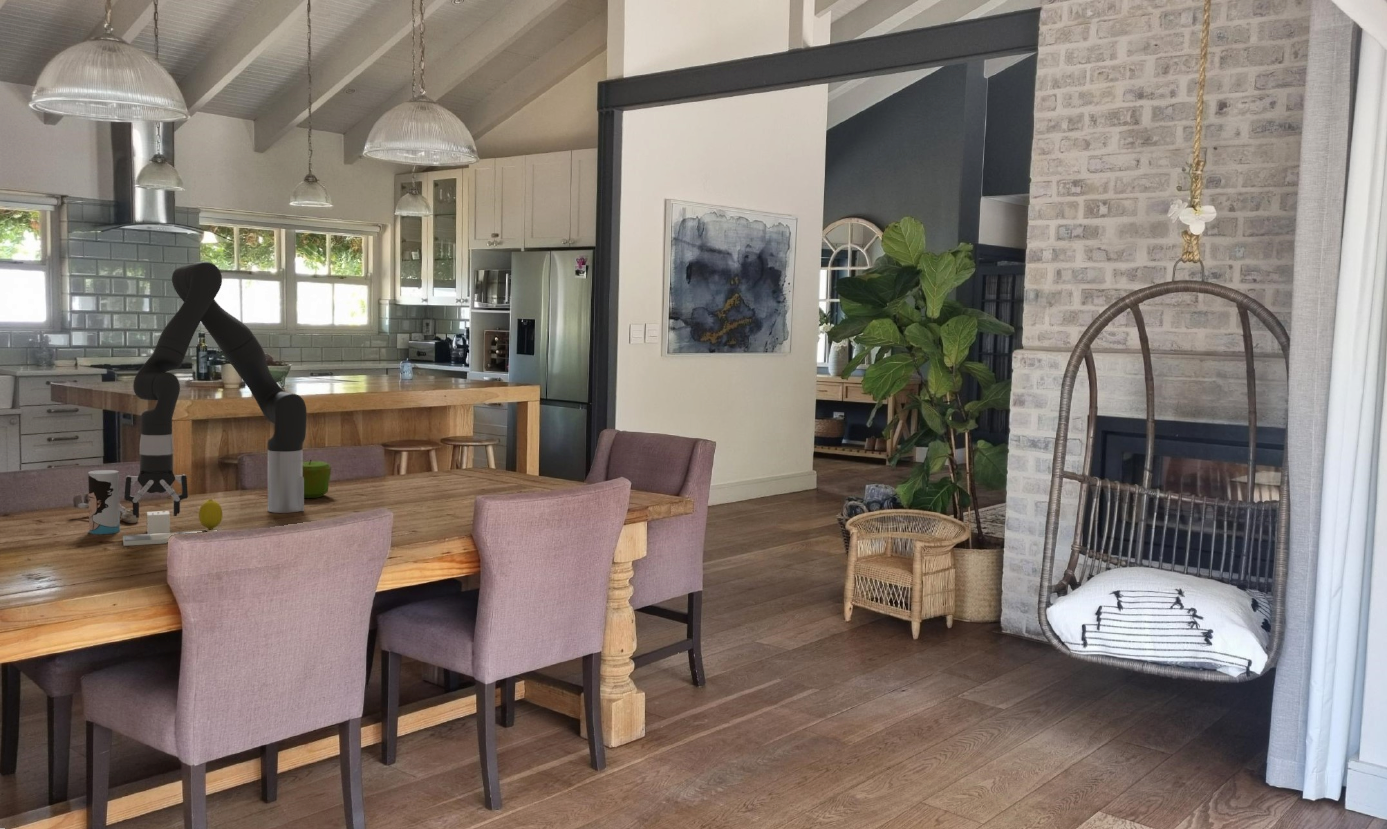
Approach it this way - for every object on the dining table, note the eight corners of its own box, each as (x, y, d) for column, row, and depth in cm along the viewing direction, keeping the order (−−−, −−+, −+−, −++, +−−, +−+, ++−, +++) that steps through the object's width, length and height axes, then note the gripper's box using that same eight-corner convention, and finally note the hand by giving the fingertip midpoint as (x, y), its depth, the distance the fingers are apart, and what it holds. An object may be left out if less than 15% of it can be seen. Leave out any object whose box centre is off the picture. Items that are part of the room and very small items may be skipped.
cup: (106, 527, 287) (105, 469, 285) (125, 530, 284) (125, 471, 283) (83, 532, 280) (81, 472, 279) (103, 535, 278) (102, 474, 277)
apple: (300, 492, 349) (300, 456, 348) (338, 494, 347) (338, 458, 346) (280, 498, 337) (280, 461, 336) (319, 501, 335) (319, 463, 334)
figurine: (91, 490, 303) (146, 505, 296) (89, 511, 304) (145, 526, 297) (70, 493, 298) (127, 508, 290) (69, 514, 298) (125, 530, 291)
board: (230, 533, 284) (230, 529, 284) (232, 539, 278) (232, 534, 278) (123, 540, 273) (123, 535, 273) (123, 545, 267) (123, 540, 267)
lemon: (203, 527, 290) (203, 497, 290) (225, 528, 291) (225, 497, 290) (195, 532, 285) (195, 500, 284) (218, 532, 285) (218, 501, 285)
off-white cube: (169, 530, 287) (168, 510, 286) (170, 533, 282) (169, 513, 282) (146, 531, 284) (146, 511, 284) (147, 535, 280) (146, 514, 279)
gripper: (187, 449, 288) (186, 512, 289) (124, 450, 282) (124, 515, 283) (188, 453, 282) (188, 517, 283) (124, 454, 275) (124, 520, 276)
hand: (156, 516), depth 283 cm, fingers open, 8 cm apart
